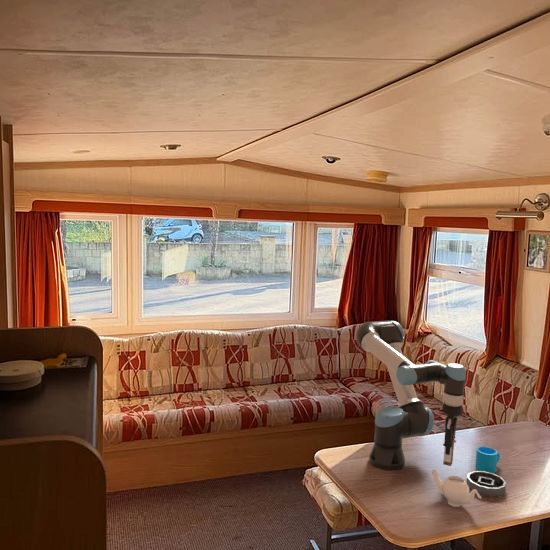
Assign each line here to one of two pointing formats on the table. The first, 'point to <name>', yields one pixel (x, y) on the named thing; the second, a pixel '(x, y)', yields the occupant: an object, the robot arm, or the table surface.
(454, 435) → the square wooden stick
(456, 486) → the teapot
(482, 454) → the mug
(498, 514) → the table surface
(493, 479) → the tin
